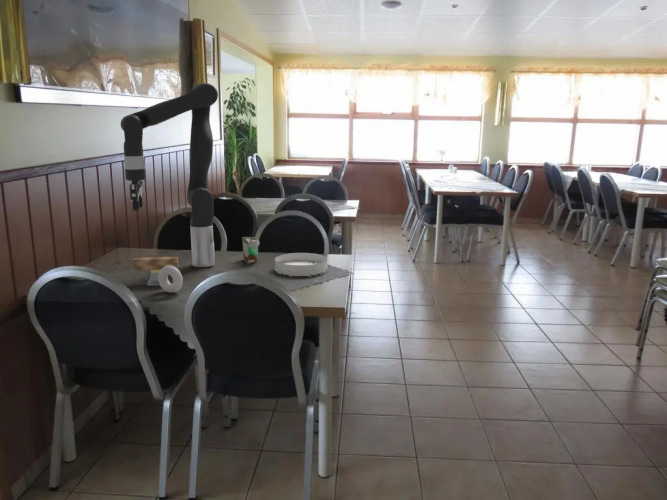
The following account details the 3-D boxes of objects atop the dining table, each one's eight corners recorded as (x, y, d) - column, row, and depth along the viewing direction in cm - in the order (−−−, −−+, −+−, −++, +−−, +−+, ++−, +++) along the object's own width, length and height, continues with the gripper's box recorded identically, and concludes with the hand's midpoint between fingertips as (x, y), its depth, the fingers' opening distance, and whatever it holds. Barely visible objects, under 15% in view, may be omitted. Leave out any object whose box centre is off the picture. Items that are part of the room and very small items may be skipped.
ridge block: (167, 279, 215) (166, 265, 214) (164, 285, 207) (163, 270, 206) (151, 279, 214) (150, 266, 213) (147, 285, 206) (146, 271, 205)
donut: (185, 293, 198) (184, 266, 196) (179, 295, 195) (177, 268, 192) (163, 289, 202) (161, 263, 199) (157, 292, 199) (155, 265, 196)
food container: (263, 263, 239) (262, 241, 237) (249, 265, 237) (248, 242, 235) (256, 257, 250) (255, 235, 248) (242, 258, 248) (242, 236, 246)
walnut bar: (178, 266, 212) (178, 256, 211) (177, 268, 209) (176, 258, 208) (135, 267, 210) (134, 257, 209) (133, 270, 207) (132, 259, 206)
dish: (312, 280, 216) (312, 267, 215) (264, 273, 225) (264, 261, 224) (336, 267, 236) (336, 255, 234) (290, 261, 244) (290, 250, 243)
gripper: (141, 169, 209) (145, 211, 213) (147, 166, 223) (150, 206, 226) (121, 169, 208) (124, 211, 211) (128, 166, 221) (131, 206, 225)
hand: (138, 208), depth 219 cm, fingers open, 8 cm apart
